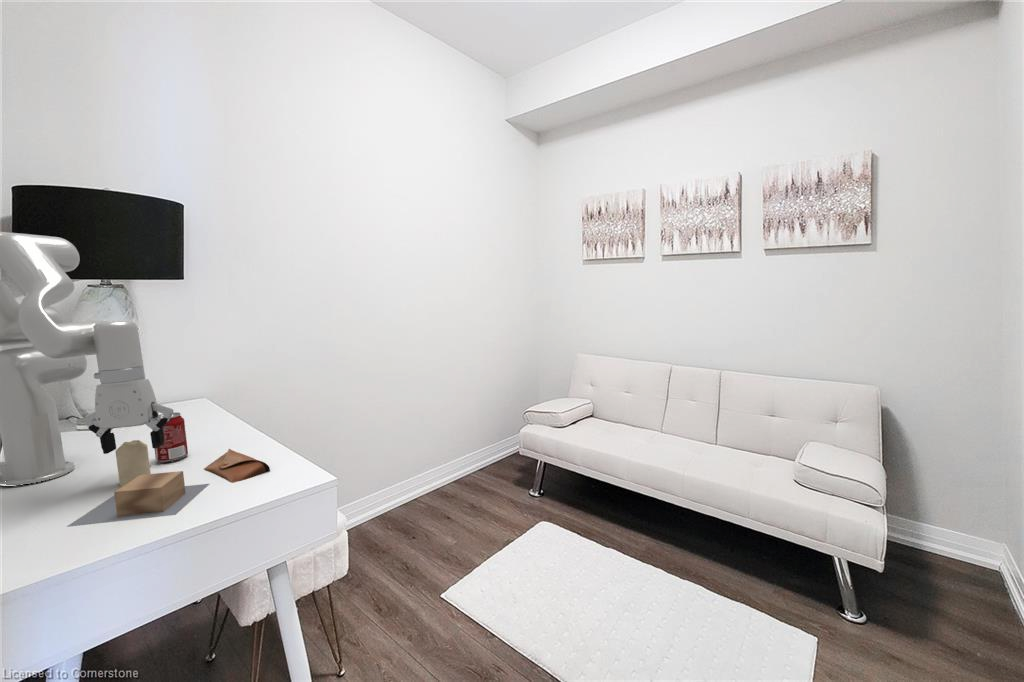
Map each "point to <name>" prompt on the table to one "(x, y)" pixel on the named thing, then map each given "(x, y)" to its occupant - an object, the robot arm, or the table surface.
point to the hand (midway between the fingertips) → (134, 449)
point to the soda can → (173, 440)
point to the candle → (132, 461)
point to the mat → (109, 514)
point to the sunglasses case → (237, 467)
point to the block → (149, 493)
